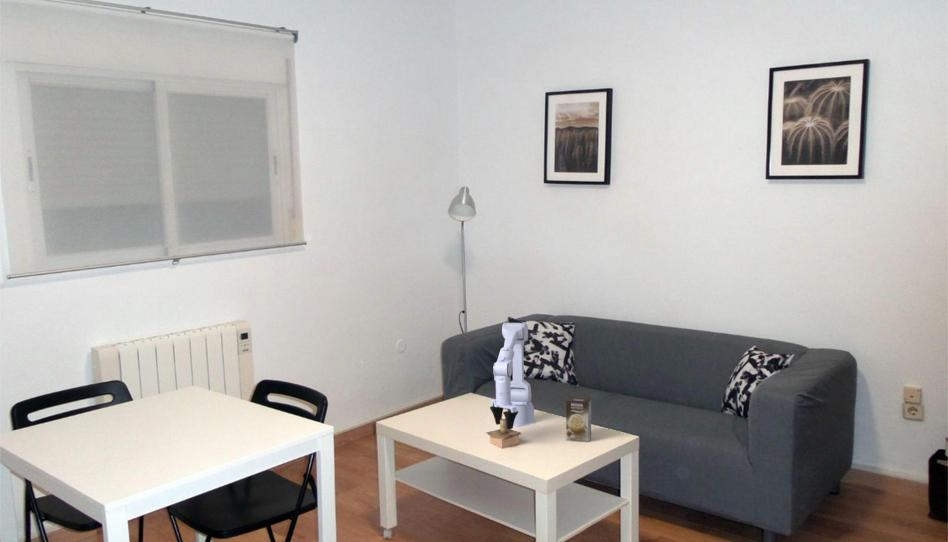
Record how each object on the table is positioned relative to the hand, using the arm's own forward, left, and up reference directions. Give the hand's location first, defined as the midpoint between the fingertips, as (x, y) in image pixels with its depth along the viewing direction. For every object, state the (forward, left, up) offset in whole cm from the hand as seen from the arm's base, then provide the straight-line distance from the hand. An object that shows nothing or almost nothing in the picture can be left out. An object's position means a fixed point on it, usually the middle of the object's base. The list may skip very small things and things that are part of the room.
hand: (504, 426), depth 296 cm
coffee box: (-27, +12, -7) cm, 30 cm away
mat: (-6, -11, -7) cm, 15 cm away
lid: (0, 0, -3) cm, 3 cm away
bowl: (0, 0, -7) cm, 7 cm away
